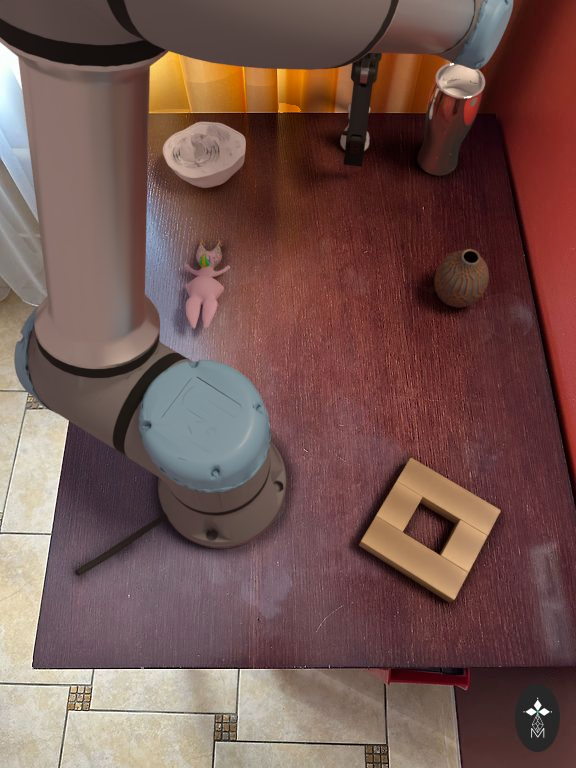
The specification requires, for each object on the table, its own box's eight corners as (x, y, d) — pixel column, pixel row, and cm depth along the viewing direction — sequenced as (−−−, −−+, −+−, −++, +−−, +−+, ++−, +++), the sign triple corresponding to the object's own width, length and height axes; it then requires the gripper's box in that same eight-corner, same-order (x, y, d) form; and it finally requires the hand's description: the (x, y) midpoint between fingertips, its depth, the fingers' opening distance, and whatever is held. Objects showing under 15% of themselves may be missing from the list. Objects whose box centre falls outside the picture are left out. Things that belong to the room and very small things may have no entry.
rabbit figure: (190, 252, 98) (176, 335, 90) (185, 221, 93) (171, 306, 85) (233, 254, 98) (224, 337, 90) (231, 223, 93) (221, 307, 85)
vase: (478, 319, 93) (496, 284, 85) (427, 310, 93) (440, 274, 85) (482, 277, 96) (500, 238, 88) (433, 268, 96) (446, 229, 88)
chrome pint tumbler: (405, 151, 105) (424, 70, 91) (445, 137, 106) (469, 54, 92) (428, 184, 102) (451, 105, 89) (468, 169, 103) (497, 89, 90)
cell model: (254, 191, 101) (252, 158, 95) (174, 205, 100) (167, 173, 94) (240, 140, 106) (238, 105, 99) (163, 153, 104) (155, 119, 98)
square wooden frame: (449, 603, 78) (454, 600, 75) (358, 545, 80) (360, 541, 78) (495, 515, 82) (501, 510, 79) (407, 463, 84) (410, 457, 82)
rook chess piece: (369, 134, 106) (376, 93, 99) (368, 156, 104) (374, 116, 97) (340, 132, 106) (345, 90, 99) (339, 154, 104) (343, 113, 97)
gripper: (397, 75, 78) (375, 197, 97) (410, -66, 88) (388, 70, 107) (331, 69, 78) (322, 191, 98) (352, -71, 88) (340, 65, 108)
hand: (357, 128), depth 103 cm, fingers open, 13 cm apart
